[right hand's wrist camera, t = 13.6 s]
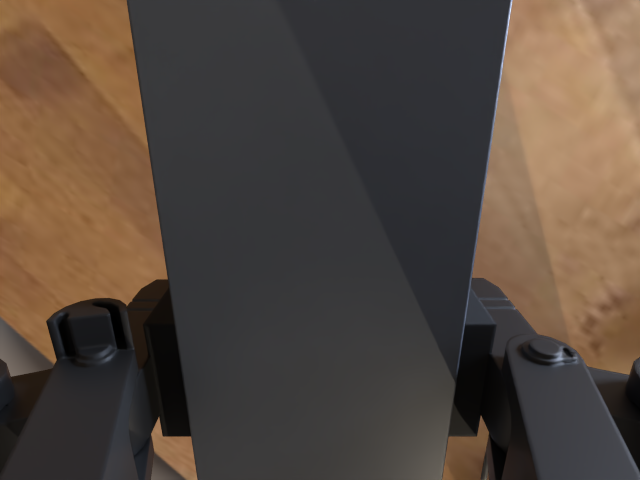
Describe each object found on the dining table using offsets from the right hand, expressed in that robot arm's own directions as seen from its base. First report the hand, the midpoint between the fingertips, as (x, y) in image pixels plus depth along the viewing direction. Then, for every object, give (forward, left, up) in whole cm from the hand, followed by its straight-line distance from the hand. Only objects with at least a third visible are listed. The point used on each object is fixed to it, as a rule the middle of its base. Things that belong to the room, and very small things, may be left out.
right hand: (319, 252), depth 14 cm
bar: (-8, -23, -1) cm, 25 cm away
